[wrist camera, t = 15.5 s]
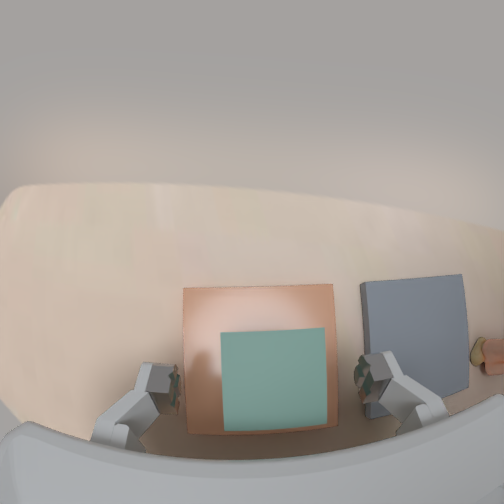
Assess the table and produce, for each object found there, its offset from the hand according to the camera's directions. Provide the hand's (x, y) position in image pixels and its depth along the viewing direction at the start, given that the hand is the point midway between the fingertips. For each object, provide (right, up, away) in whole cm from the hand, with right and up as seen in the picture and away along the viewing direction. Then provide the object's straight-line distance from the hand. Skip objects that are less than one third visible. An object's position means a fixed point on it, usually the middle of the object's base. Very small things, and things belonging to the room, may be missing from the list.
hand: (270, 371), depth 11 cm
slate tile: (+12, -2, +7) cm, 14 cm away
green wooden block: (0, -2, +6) cm, 6 cm away
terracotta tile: (0, -2, +7) cm, 7 cm away
